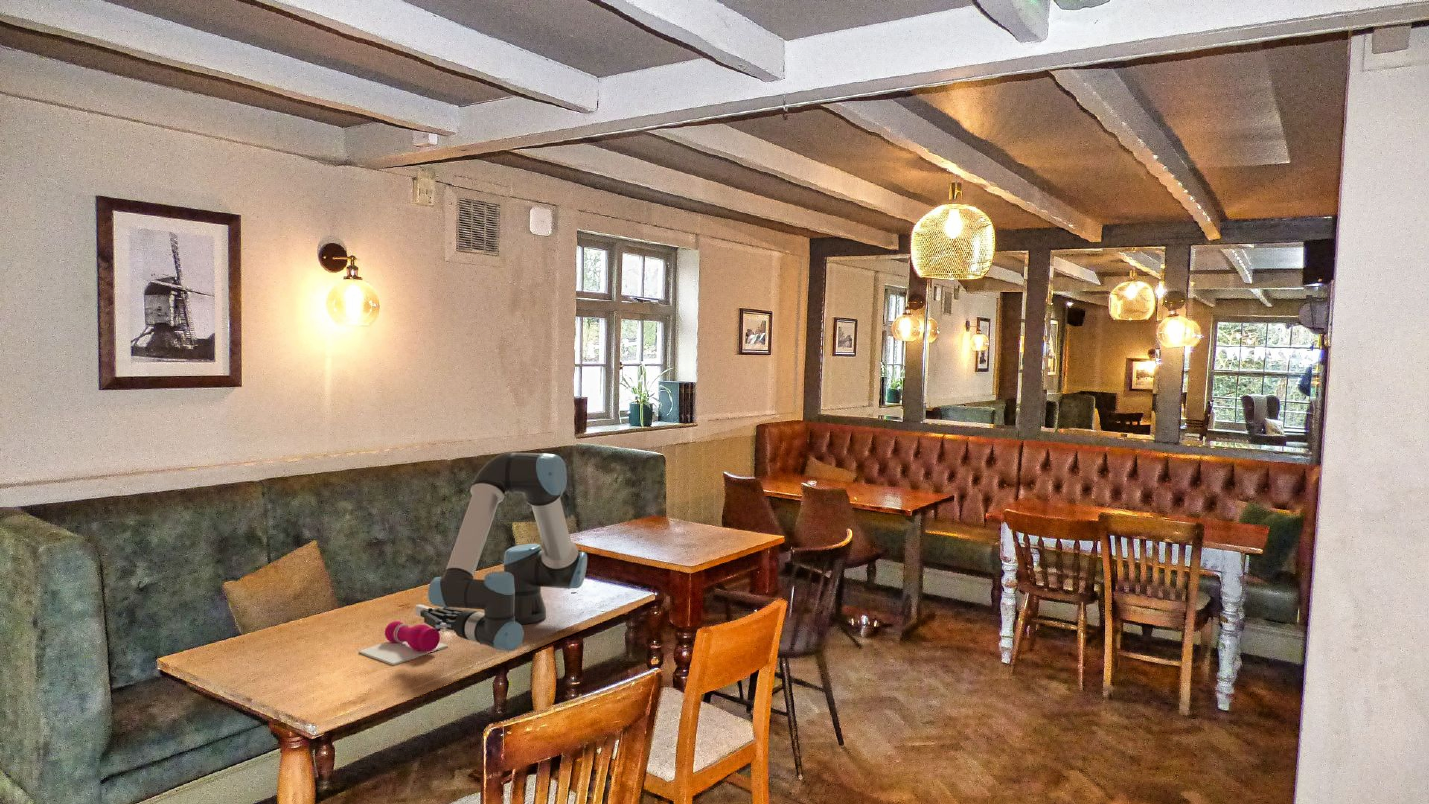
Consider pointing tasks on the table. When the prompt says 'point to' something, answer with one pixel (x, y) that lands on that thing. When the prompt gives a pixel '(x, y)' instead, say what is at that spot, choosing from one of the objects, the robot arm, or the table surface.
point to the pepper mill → (413, 635)
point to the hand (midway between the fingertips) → (417, 609)
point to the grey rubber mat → (396, 652)
